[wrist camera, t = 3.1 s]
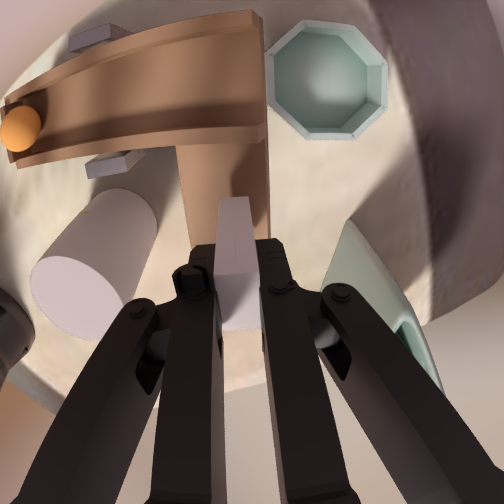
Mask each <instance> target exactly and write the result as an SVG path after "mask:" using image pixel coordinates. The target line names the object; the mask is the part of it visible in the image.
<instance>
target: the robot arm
mask: <svg viewBox="0 0 504 504" xmlns="http://www.w3.org/2000/svg"><path fill="white" fill-rule="evenodd" d="M172 278H173V282H174V286H175V290H176V294H177V297H176V298H175V299H173V300H172V301H169V302H167V303H163V304H160V305H156V306H155V303H154V302H153V301H152V300H150V299H147V298H138V299H134V300H131V301H130V302H128V303H126V304H125V305H124V306H123V307H122V309H121V310H120V312H119V313H118V315H117V316H116V318H115V319H114V321H113V322H112V324H111V325H110V327H109V328H108V330H107V331H106V333H105V334H104V336H103V338H102V339H101V341H100V342H99V344H98V345H97V347H96V349H95V350H94V352H93V353H92V355H91V357H90V358H89V360H88V361H87V363H86V365H85V366H84V368H83V370H82V371H81V373H80V375H79V376H78V378H77V380H76V382H75V383H74V385H73V387H72V388H71V390H70V392H69V394H68V395H67V397H66V399H65V401H64V403H63V404H62V406H61V408H60V410H59V412H58V413H57V415H56V417H55V419H54V421H53V423H52V425H51V427H50V428H49V430H48V433H47V434H46V436H45V438H44V440H43V442H42V444H41V447H40V448H39V450H38V452H37V454H36V457H35V459H34V461H33V463H32V465H31V467H30V469H29V471H28V474H27V476H26V478H25V480H24V483H23V485H22V487H21V490H20V492H19V494H18V496H17V497H16V498H15V499H14V500H13V501H12V502H11V503H10V504H115V502H116V500H117V497H118V495H119V492H120V489H121V487H122V484H123V481H124V479H125V476H126V474H127V471H128V469H129V466H130V463H131V461H132V458H133V456H134V453H135V451H136V448H137V446H138V443H139V441H140V438H141V436H142V433H143V431H144V429H145V426H146V424H147V421H148V419H149V416H150V414H151V411H152V409H153V407H154V404H155V402H156V400H157V397H158V395H159V392H160V390H161V393H160V400H159V408H158V416H157V425H156V434H155V444H154V455H153V467H152V479H151V492H150V496H149V499H148V500H147V501H146V502H145V503H144V504H227V489H226V466H225V465H226V464H225V433H224V432H225V431H224V360H223V337H222V330H223V331H237V330H251V329H262V351H263V352H264V361H265V370H266V378H267V387H268V396H269V404H270V413H271V422H272V431H273V440H274V448H275V457H276V466H277V474H278V483H279V492H280V500H281V504H361V502H360V499H359V497H358V495H357V493H356V492H355V491H354V490H353V489H352V488H351V486H350V484H349V480H348V476H347V471H346V467H345V462H344V458H343V453H342V449H341V445H340V440H339V437H338V432H337V428H336V423H335V420H334V415H333V411H332V408H331V403H330V399H329V396H328V392H327V387H326V383H325V380H324V376H323V372H322V368H321V364H320V360H319V357H320V358H321V360H322V362H323V363H324V365H325V367H326V368H327V370H328V372H329V373H330V375H331V377H332V378H333V380H334V382H335V383H336V385H337V387H338V388H339V390H340V392H341V393H342V395H343V397H344V398H345V400H346V402H347V403H348V405H349V407H350V408H351V410H352V412H353V413H354V415H355V416H356V418H357V420H358V422H359V423H360V425H361V427H362V428H363V430H364V432H365V433H366V435H367V437H368V438H369V440H370V442H371V443H372V445H373V447H374V449H375V450H376V452H377V454H378V455H379V457H380V458H381V460H382V462H383V463H384V465H385V467H386V469H387V470H388V472H389V474H390V475H391V477H392V479H393V480H394V482H395V484H396V485H397V487H398V489H399V491H400V492H401V494H402V495H403V497H404V499H405V501H406V502H407V504H504V471H502V470H501V469H499V468H498V467H496V466H495V465H494V464H493V462H492V461H491V459H490V458H489V456H488V455H487V453H486V452H485V450H484V449H483V447H482V446H481V444H480V443H479V442H478V440H477V439H476V437H475V436H474V435H473V433H472V432H471V430H470V429H469V427H468V426H467V425H466V423H465V422H464V421H463V419H462V418H461V417H460V415H459V414H458V412H457V411H456V410H455V409H454V407H453V406H452V404H451V403H450V402H449V400H448V399H447V398H446V397H445V395H444V394H443V393H442V391H441V390H440V389H439V387H438V386H437V385H436V384H435V382H434V381H433V380H432V378H431V377H430V376H429V375H428V373H427V372H426V371H425V370H424V368H423V367H422V366H421V365H420V363H419V362H418V361H417V360H416V358H415V357H414V356H413V355H412V354H411V352H410V351H409V350H408V349H407V347H406V346H405V345H404V344H403V343H402V341H401V340H400V339H399V338H398V337H397V335H396V334H395V333H394V332H393V331H392V330H391V328H390V327H389V326H388V325H387V324H386V322H385V321H384V320H383V319H382V318H381V317H380V315H379V314H378V313H377V312H376V311H375V310H374V309H373V307H372V306H371V305H370V304H369V303H368V302H367V301H366V299H365V298H364V297H363V296H362V295H361V294H360V293H359V292H358V290H357V289H355V288H354V287H353V286H351V285H348V284H346V283H331V284H329V285H327V286H325V288H324V289H323V290H322V292H315V291H309V290H305V289H303V288H301V287H299V285H298V284H297V282H296V281H295V280H293V278H292V275H291V271H290V268H289V264H288V261H287V258H286V254H285V250H284V247H283V244H282V243H281V242H280V241H279V240H278V239H277V238H271V239H257V240H255V238H254V231H253V224H252V217H251V210H250V203H249V196H242V197H229V198H220V200H219V211H218V222H217V234H216V243H215V244H203V245H196V246H195V247H194V248H193V249H192V251H191V252H190V257H189V262H188V264H185V265H183V266H181V267H179V268H178V269H176V270H175V271H174V273H173V275H172ZM34 340H35V333H34V329H33V326H32V324H31V322H30V320H29V319H28V317H27V315H26V314H25V312H24V311H23V310H22V309H21V307H20V306H19V305H18V304H17V303H16V302H15V301H14V300H13V299H12V298H11V297H10V296H9V295H8V294H7V293H6V292H5V291H3V290H2V289H1V288H0V390H1V388H2V385H3V383H4V381H5V378H6V376H7V374H8V372H9V370H10V369H11V368H12V367H13V366H14V365H15V364H16V363H17V362H18V361H19V360H20V359H21V358H23V357H24V356H25V355H26V354H27V353H28V352H29V350H30V348H31V346H32V344H33V342H34ZM318 355H319V357H318Z"/></svg>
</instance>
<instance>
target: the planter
mask: <svg viewBox="0 0 504 504" xmlns="http://www.w3.org/2000/svg"><path fill="white" fill-rule="evenodd" d="M331 283H346V284H348V285H351V286H353V287H354V288H355V289H357V290H358V292H359V293H360V294H361V295H362V296H363V297H364V298H365V299H366V301H367V302H368V303H369V304H370V305H371V306H372V307H373V309H374V310H375V311H376V312H377V313H378V314H379V315H380V317H381V318H382V319H383V320H384V321H385V322H386V324H387V325H388V326H389V327H390V328H391V330H392V331H393V332H394V333H395V334H396V335H397V337H398V338H399V339H400V340H401V341H402V343H403V344H404V345H405V346H406V347H407V349H408V350H409V351H410V352H411V354H412V355H413V356H414V357H415V358H416V360H417V361H418V362H419V363H420V365H421V366H422V367H423V368H424V370H425V371H426V372H427V373H428V375H429V376H430V377H431V378H432V380H433V381H434V382H435V384H436V385H437V386H438V387H439V389H440V390H441V391H442V393H443V394H444V395H445V392H444V389H443V386H442V383H441V380H440V377H439V374H438V372H437V368H436V366H435V363H434V360H433V357H432V355H431V352H430V349H429V346H428V343H427V341H426V338H425V336H424V333H423V331H422V329H421V326H420V324H419V321H418V319H417V316H416V314H415V312H414V310H413V308H412V306H411V304H410V302H409V301H408V299H407V298H406V296H405V294H404V293H403V291H402V290H401V288H400V287H399V285H398V284H397V282H396V281H395V279H394V278H393V276H392V275H391V273H390V272H389V271H388V269H387V268H386V266H385V265H384V263H383V262H382V260H381V259H380V258H379V256H378V255H377V253H376V252H375V251H374V249H373V248H372V247H371V245H370V244H369V242H368V241H367V240H366V238H365V237H364V236H363V234H362V233H361V232H360V230H359V229H358V228H357V226H356V225H355V224H354V222H353V221H352V220H350V219H349V220H347V222H346V223H345V225H344V228H343V231H342V234H341V237H340V240H339V242H338V245H337V248H336V250H335V253H334V256H333V258H332V261H331V263H330V266H329V268H328V271H327V274H326V276H325V279H324V281H323V284H322V287H321V290H320V292H322V290H323V289H324V288H325V286H327V285H329V284H331ZM445 397H446V396H445Z"/></svg>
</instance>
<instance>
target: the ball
mask: <svg viewBox="0 0 504 504" xmlns="http://www.w3.org/2000/svg"><path fill="white" fill-rule="evenodd" d="M40 129H41V120H40V117H39V114H38V113H37V111H36V110H35V109H33V108H32V107H29V106H18V107H16V108H14V109H12V110H11V111H10V112H9V113H8V114H7V115H6V116H5V118H4V119H3V121H2V124H1V128H0V138H1V141H2V143H3V145H4V146H5V147H6V148H7V149H8V150H10V151H14V152H20V151H23V150H26V149H28V148H29V147H30V146H31V145H32V144H33V143H34V142H35V141H36V139H37V138H38V136H39V133H40Z"/></svg>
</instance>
